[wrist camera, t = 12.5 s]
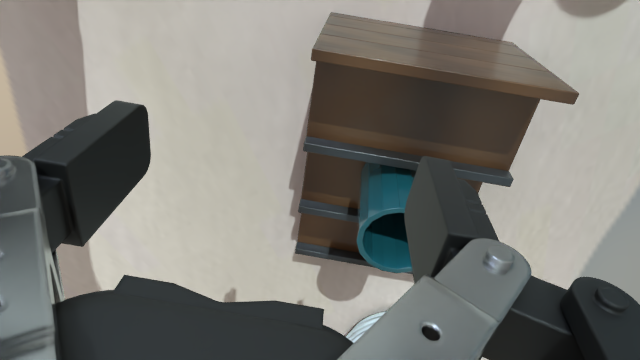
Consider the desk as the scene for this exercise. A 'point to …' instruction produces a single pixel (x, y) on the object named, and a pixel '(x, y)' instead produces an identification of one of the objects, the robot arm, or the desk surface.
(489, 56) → the shelf rack
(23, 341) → the robot arm
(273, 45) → the desk surface
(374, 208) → the cup
